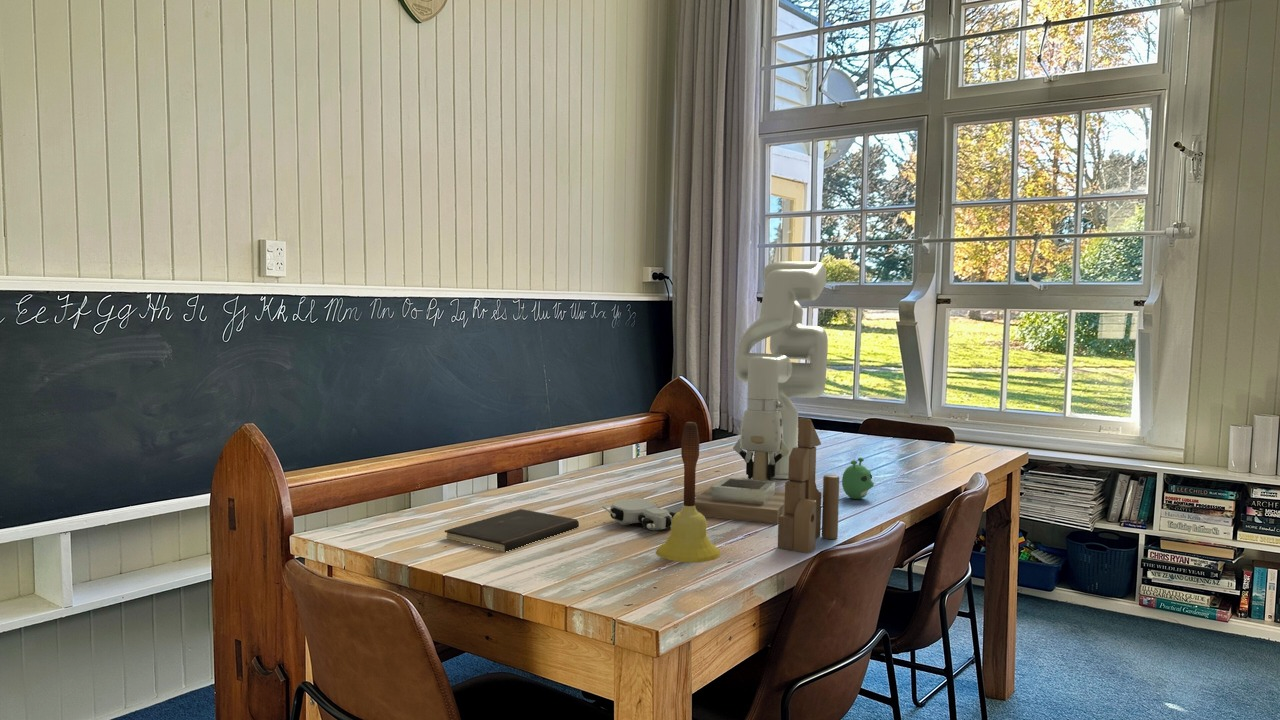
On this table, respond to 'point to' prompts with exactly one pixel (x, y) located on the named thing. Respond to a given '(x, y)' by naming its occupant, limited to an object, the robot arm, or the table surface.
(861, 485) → the alien toy
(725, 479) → the collar
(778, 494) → the board
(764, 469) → the handle
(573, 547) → the table surface
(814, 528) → the wooden toy
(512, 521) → the hardcover book
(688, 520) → the handbell
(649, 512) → the robot toy
